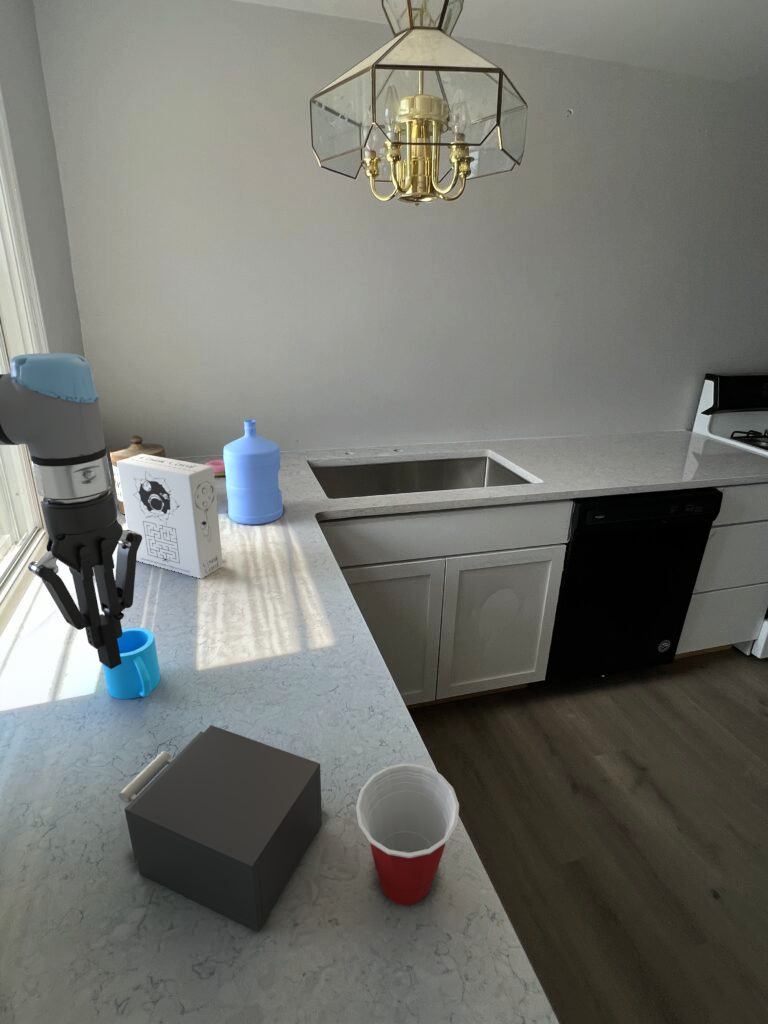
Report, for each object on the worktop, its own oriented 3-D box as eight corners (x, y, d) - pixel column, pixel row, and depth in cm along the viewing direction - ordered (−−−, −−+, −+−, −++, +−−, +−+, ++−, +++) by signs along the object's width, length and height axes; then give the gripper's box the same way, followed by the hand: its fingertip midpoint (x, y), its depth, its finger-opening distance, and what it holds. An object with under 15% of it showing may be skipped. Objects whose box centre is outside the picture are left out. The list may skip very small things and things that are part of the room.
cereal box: (223, 566, 133) (214, 465, 124) (201, 579, 126) (189, 475, 117) (155, 548, 141) (142, 453, 132) (131, 560, 135) (115, 461, 126)
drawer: (105, 846, 65) (94, 795, 62) (181, 767, 76) (174, 721, 73) (241, 911, 58) (235, 858, 55) (302, 815, 69) (300, 766, 66)
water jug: (257, 530, 153) (250, 430, 143) (217, 518, 161) (208, 422, 151) (294, 513, 166) (290, 420, 156) (255, 502, 173) (249, 413, 163)
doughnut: (214, 480, 192) (213, 468, 191) (197, 473, 199) (196, 461, 198) (241, 473, 200) (240, 462, 198) (224, 467, 207) (223, 456, 205)
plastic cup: (335, 879, 63) (334, 801, 58) (402, 821, 70) (405, 747, 65) (405, 957, 55) (410, 874, 51) (471, 883, 63) (480, 804, 58)
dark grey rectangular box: (139, 874, 63) (126, 810, 59) (217, 782, 75) (210, 724, 71) (258, 932, 57) (252, 866, 54) (322, 823, 69) (320, 763, 66)
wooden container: (112, 506, 167) (100, 435, 159) (161, 496, 177) (152, 428, 169) (130, 521, 157) (118, 445, 149) (180, 509, 167) (172, 437, 159)
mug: (101, 680, 93) (92, 639, 90) (150, 661, 98) (144, 622, 95) (124, 719, 85) (116, 676, 82) (176, 697, 90) (170, 654, 87)
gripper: (32, 517, 57) (75, 701, 66) (147, 485, 67) (171, 649, 76) (0, 501, 61) (44, 677, 70) (113, 473, 71) (139, 630, 80)
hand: (110, 662), depth 73 cm, fingers closed
